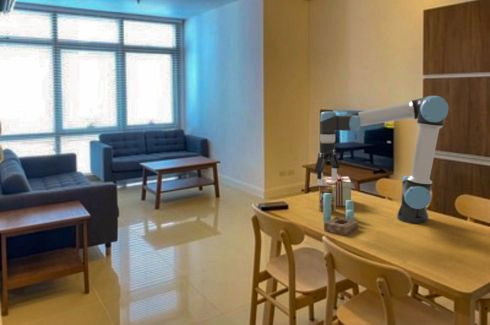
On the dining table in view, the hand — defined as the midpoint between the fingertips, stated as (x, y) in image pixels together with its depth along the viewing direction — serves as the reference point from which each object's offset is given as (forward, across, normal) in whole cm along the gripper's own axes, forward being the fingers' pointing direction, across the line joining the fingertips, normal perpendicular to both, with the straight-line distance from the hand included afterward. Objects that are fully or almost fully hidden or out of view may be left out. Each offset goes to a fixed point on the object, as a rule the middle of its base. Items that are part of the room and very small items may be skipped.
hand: (327, 182), depth 216 cm
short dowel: (+21, -4, +11) cm, 24 cm away
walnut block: (+21, +7, +12) cm, 25 cm away
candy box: (+21, -16, -10) cm, 28 cm away
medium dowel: (+21, -11, +7) cm, 25 cm away
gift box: (+21, -33, -14) cm, 42 cm away
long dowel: (+21, 0, 0) cm, 21 cm away
